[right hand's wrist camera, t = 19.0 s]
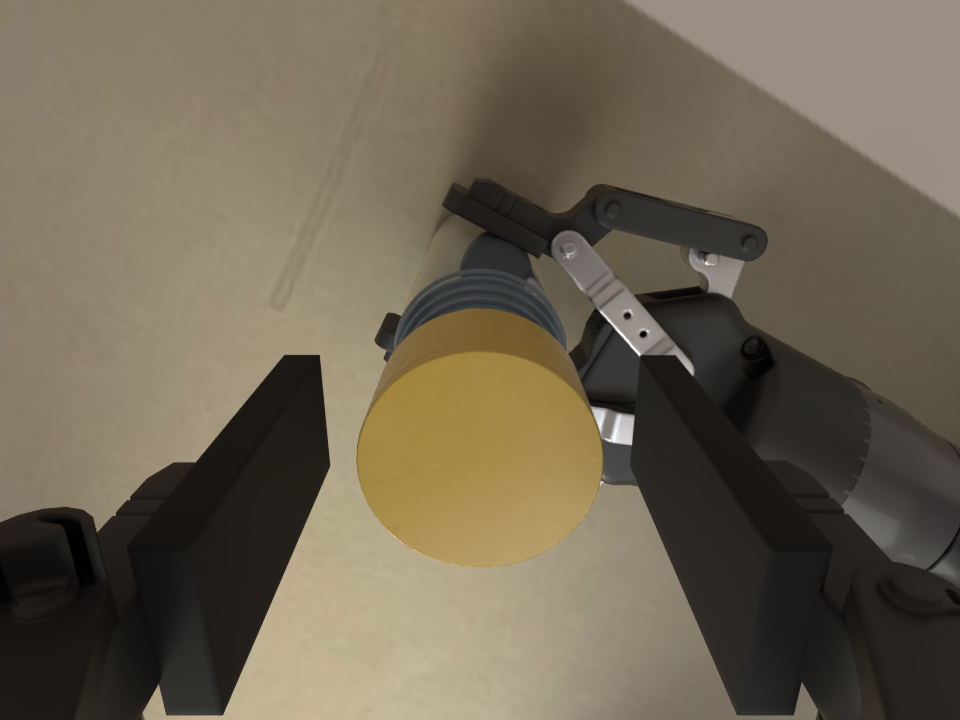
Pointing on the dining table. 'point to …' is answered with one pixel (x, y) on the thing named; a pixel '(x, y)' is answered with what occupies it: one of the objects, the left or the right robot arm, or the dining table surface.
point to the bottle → (477, 280)
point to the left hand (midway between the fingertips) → (414, 264)
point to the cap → (480, 441)
